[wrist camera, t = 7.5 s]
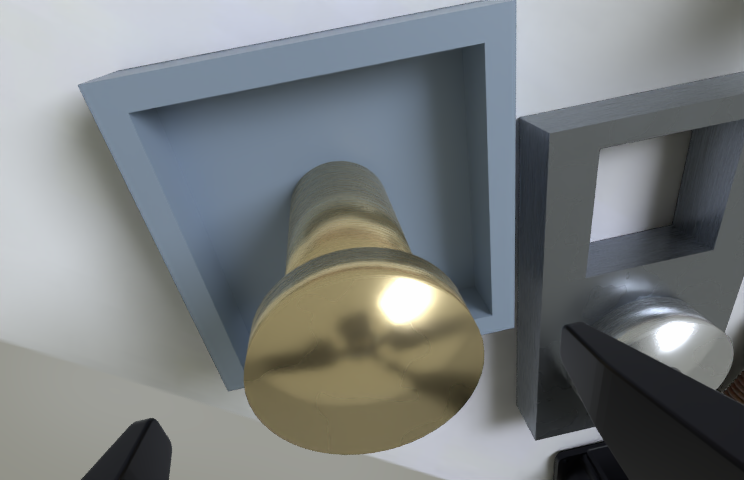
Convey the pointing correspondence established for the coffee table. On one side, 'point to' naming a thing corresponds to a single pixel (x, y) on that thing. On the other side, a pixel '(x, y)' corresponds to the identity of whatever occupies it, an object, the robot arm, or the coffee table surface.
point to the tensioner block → (628, 244)
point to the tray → (323, 155)
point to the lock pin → (357, 326)
